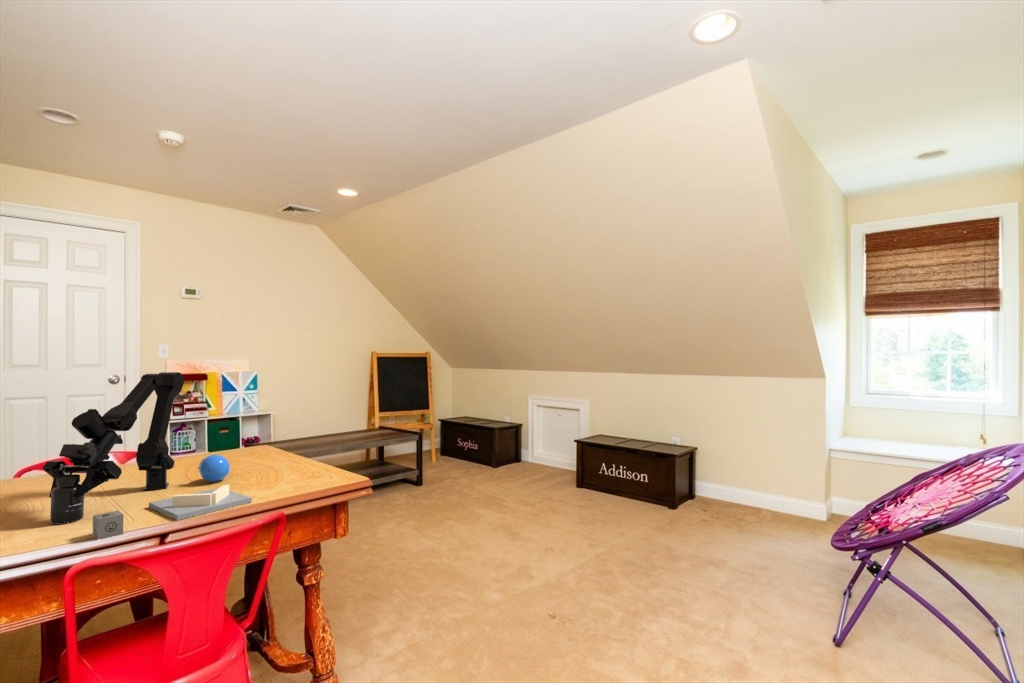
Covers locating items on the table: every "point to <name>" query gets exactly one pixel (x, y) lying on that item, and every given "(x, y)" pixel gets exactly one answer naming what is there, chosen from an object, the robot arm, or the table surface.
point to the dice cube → (108, 524)
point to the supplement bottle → (66, 500)
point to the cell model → (214, 468)
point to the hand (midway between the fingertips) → (63, 497)
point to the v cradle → (199, 502)
